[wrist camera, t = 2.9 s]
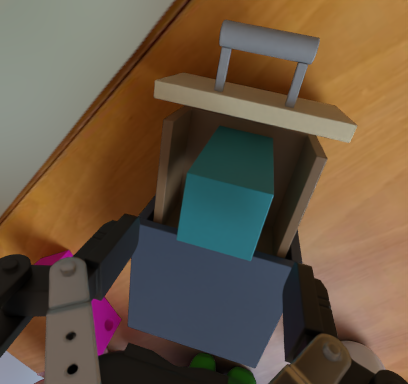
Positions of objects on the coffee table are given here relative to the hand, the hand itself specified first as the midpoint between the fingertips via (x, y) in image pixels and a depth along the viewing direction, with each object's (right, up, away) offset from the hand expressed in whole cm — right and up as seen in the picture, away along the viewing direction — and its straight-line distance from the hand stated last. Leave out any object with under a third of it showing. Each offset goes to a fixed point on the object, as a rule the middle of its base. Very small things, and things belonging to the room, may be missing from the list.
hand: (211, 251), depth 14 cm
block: (+3, +6, +12) cm, 14 cm away
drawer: (+3, +8, +12) cm, 15 cm away
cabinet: (+1, -4, +20) cm, 21 cm away
